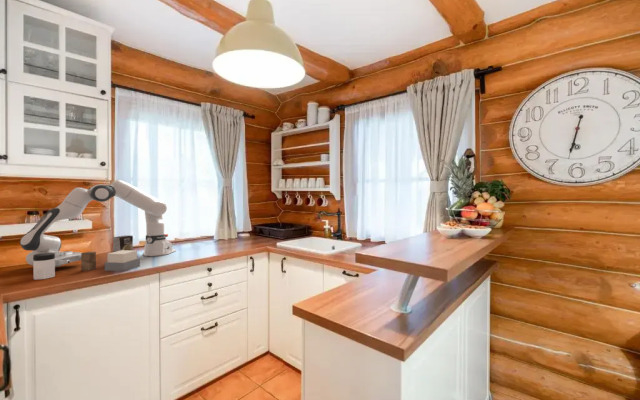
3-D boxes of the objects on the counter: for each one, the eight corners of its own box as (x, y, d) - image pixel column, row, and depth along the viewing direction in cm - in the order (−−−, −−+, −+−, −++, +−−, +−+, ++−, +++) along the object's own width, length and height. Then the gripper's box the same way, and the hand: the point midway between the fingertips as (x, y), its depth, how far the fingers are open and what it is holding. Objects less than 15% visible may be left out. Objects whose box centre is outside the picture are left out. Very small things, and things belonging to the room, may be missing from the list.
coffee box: (121, 263, 178) (120, 237, 178) (112, 262, 179) (112, 237, 179) (133, 259, 187) (133, 235, 187) (125, 259, 188) (125, 235, 188)
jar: (27, 280, 142) (27, 256, 142) (39, 275, 150) (39, 253, 149) (49, 279, 144) (48, 255, 144) (59, 274, 152) (59, 252, 152)
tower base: (121, 266, 172) (121, 257, 172) (139, 266, 171) (139, 258, 171) (104, 271, 160) (104, 262, 160) (124, 272, 159) (124, 263, 159)
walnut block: (88, 268, 164) (88, 251, 164) (95, 269, 164) (95, 251, 163) (81, 270, 160) (81, 253, 159) (88, 271, 159) (88, 253, 159)
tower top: (121, 258, 171) (121, 250, 171) (137, 258, 170) (137, 250, 170) (107, 262, 161) (107, 253, 161) (123, 262, 160) (123, 254, 160)
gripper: (35, 257, 154) (57, 258, 152) (72, 250, 174) (92, 251, 173) (35, 269, 154) (57, 270, 152) (72, 260, 174) (92, 261, 173)
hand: (76, 260), depth 163 cm, fingers open, 8 cm apart
